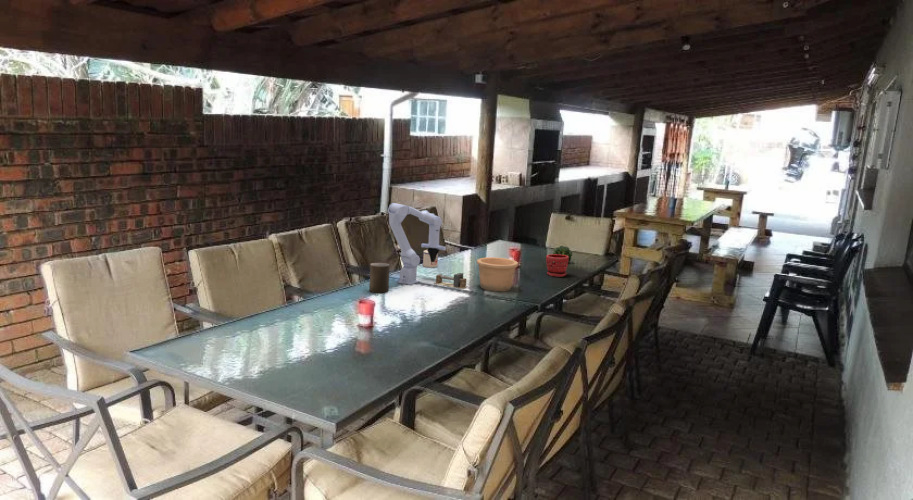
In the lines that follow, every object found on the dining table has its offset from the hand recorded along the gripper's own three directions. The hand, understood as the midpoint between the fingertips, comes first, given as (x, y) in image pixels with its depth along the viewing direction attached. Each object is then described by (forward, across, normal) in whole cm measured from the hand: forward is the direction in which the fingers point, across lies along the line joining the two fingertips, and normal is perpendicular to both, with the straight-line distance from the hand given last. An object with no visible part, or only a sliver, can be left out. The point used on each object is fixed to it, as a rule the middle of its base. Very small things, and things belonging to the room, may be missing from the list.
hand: (432, 261), depth 360 cm
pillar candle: (+10, +8, +40) cm, 42 cm away
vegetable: (+10, -44, -96) cm, 105 cm away
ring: (+10, -19, +6) cm, 23 cm away
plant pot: (+10, -52, -58) cm, 79 cm away
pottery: (+10, -36, -6) cm, 38 cm away
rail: (+10, -15, +6) cm, 19 cm away
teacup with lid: (+10, +18, -31) cm, 37 cm away
